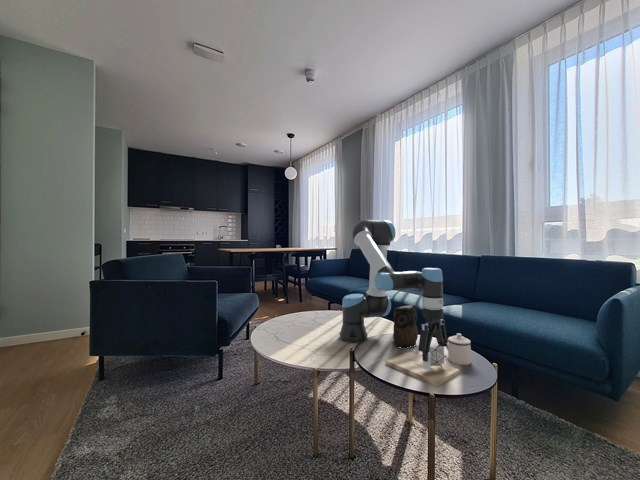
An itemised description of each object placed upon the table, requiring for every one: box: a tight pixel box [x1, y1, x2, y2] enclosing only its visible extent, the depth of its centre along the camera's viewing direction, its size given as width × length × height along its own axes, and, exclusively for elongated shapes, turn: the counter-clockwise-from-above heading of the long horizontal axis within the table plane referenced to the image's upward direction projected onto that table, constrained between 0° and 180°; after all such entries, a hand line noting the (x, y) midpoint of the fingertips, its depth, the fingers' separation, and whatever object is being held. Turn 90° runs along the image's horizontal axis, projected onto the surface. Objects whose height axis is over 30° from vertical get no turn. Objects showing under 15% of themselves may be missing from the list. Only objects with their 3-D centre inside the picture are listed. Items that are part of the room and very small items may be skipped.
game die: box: [420, 344, 448, 368], centre depth 104 cm, size 9×8×10 cm
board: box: [385, 351, 461, 387], centre depth 109 cm, size 23×16×2 cm
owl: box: [392, 304, 419, 349], centre depth 135 cm, size 13×13×20 cm
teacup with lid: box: [445, 332, 472, 366], centre depth 117 cm, size 12×9×12 cm
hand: (433, 365), depth 104 cm, fingers closed on game die, 9 cm apart
